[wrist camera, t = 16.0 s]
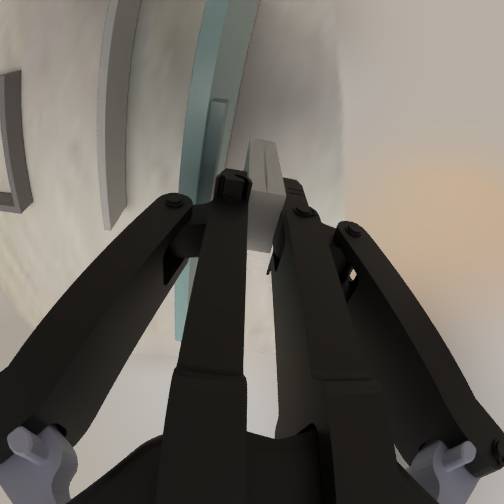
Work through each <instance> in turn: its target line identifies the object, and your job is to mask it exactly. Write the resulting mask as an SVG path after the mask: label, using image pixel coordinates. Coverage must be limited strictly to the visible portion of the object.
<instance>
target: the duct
mask: <svg viewBox="0 0 504 504" xmlns="http://www.w3.org/2000/svg"><path fill="white" fill-rule="evenodd" d="M140 3H141V0H109V5H108V10H107V16H106V22H105V28H104V35H103V42H102V50H101V60H100V71H99V85H98V107H97V147H98V170H99V185H100V197H101V207H102V216H103V224H104V230H109V231H111V230H112V228H113V226H114V225H115V223H116V222H117V220H118V218H119V217H120V215H121V214H122V212H123V210H124V209H125V207H126V206H127V204H126V173H125V145H126V115H127V99H128V86H129V75H130V66H131V58H132V50H133V43H134V36H135V30H136V24H137V19H138V13H139V8H140ZM258 5H259V0H258V4H257V8H256V12H255V16H254V20H253V25H254V21H255V17H256V13H257V9H258ZM253 25H252V29H253ZM252 29H251V33H250V38H251V34H252ZM250 38H249V42H248V46H247V51H248V47H249V43H250ZM247 51H246V55H245V60H244V65H245V61H246V56H247ZM244 65H243V69H242V74H241V79H242V75H243V70H244ZM241 79H240V84H241ZM240 84H239V89H240ZM239 89H238V94H239ZM238 94H237V99H238ZM237 99H236V104H237ZM236 104H235V109H236ZM235 109H234V114H235ZM234 114H233V119H232V125H233V120H234ZM232 125H231V130H232ZM231 130H230V136H231ZM230 136H229V141H230ZM229 141H228V147H229ZM228 147H227V152H228ZM226 158H227V153H226ZM226 158H225V164H226ZM225 164H224V170H225Z"/></svg>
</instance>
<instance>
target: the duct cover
mask: <svg viewBox="0 0 504 504" xmlns="http://www.w3.org/2000/svg"><path fill="white" fill-rule="evenodd" d="M257 4H258V0H207V1H206V5H205V10H204V14H203V19H202V23H201V28H200V33H199V38H198V43H197V49H196V54H195V60H194V66H193V72H192V78H191V84H190V91H189V98H188V105H187V112H186V120H185V129H184V137H183V147H182V157H181V167H180V179H179V192H178V193H179V194H183V195H186V196H188V197H189V198H191V199H192V202H193V205H197V204H205V203H208V202H210V201H212V200H213V195H214V188H215V181H216V177H217V175H218V174H221V172H222V171H223V170H224V164H225V158H226V153H227V147H228V141H229V136H230V130H231V125H232V119H233V114H234V109H235V104H236V99H237V94H238V89H239V84H240V79H241V74H242V69H243V65H244V60H245V55H246V51H247V46H248V42H249V38H250V33H251V29H252V25H253V20H254V16H255V12H256V8H257ZM198 258H199V257H193V258H189V260H188V263H187V265H186V266H185V268H184V269H183V271H182V272H181V274H180V275H179V277H178V279H177V280H176V282H175V340H176V341H182V336H183V331H184V325H185V320H186V315H187V310H188V305H189V300H190V295H191V291H192V286H193V281H194V277H195V272H196V267H197V263H198Z"/></svg>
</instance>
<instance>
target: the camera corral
mask: <svg viewBox="0 0 504 504" xmlns="http://www.w3.org/2000/svg"><path fill="white" fill-rule="evenodd" d="M0 121H1V132H2V141H3V149H4V156H5V162H6V168H7V173H8V179H9V184H10V188H11V193H2V192H0V211H5V212H13V213H20V214H22V212H23V211H24V210H25V209H26V208H27V207H28V206H29V205H30V204H31V203H32V202H33V199H32V194H31V189H30V184H29V178H28V172H27V166H26V159H25V152H24V143H23V133H22V119H21V70H20V71H16V72H12V73H8V74H4V75H1V76H0Z"/></svg>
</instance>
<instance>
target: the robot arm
mask: <svg viewBox="0 0 504 504" xmlns="http://www.w3.org/2000/svg"><path fill="white" fill-rule="evenodd" d="M272 244H273V253H272V257H271V260H270V263H269V267H268V270H267V274H266V275H269V273H270V271H271V276H272V292H273V308H274V325H275V343H276V362H277V380H278V381H277V382H278V403H279V417H278V421H277V425H276V430H275V439H272V438H269V437H265V436H261V435H258V434H254V433H250V432H247V430H246V429H247V428H246V427H247V426H246V425H247V381H246V377H245V376H244V374H243V355H244V322H245V290H246V260H247V250H253V251H260V252H266V253H270V251H271V248H272ZM193 257H199V258H198V263H197V267H196V272H195V277H194V281H193V286H192V291H191V295H190V300H189V305H188V310H187V315H186V320H185V325H184V331H183V336H182V341H181V347H180V352H179V358H178V363H177V366H176V368H175V369H174V372H173V376H172V380H171V386H170V392H169V399H168V404H167V411H166V417H165V425H164V432H163V435H160V436H157V437H155V438H153V439H151V440H148V441H147V442H145V443H144V444H142V445H140V446H139V447H138V448H137V449H135V450H134V451H133V452H132V453H130V454H129V455H128V456H127V457H126V458H124V459H123V460H122V461H121V462H120V463H118V464H117V465H116V466H115V467H113V468H112V469H111V470H110V471H108V472H107V473H106V474H105V475H103V476H102V477H101V478H100V479H98V480H97V481H96V482H94V483H93V484H92V485H90V486H89V487H88V488H87V489H85V490H84V491H83V492H81V493H80V494H78V495H77V496H76V497H74V498H73V499H71V498H70V495H69V485H70V482H71V480H72V478H73V477H74V475H75V473H76V471H77V467H78V461H77V456H76V453H75V451H74V449H73V446H75V445H76V444H77V442H78V441H79V440H80V439H81V438H82V436H83V435H84V434H85V432H86V431H87V430H88V428H89V427H90V425H91V423H92V422H93V420H94V418H95V417H96V415H97V413H98V411H99V409H100V408H101V405H102V404H103V402H104V400H105V398H106V397H107V395H108V393H109V391H110V389H111V388H112V386H113V384H114V382H115V381H116V379H117V377H118V375H119V374H120V372H121V370H122V368H123V366H124V365H125V363H126V361H127V360H128V358H129V356H130V355H131V353H132V351H133V350H134V348H135V346H136V345H137V343H138V341H139V340H140V338H141V336H142V335H143V333H144V331H145V330H146V328H147V326H148V325H149V323H150V321H151V320H152V318H153V317H154V315H155V313H156V312H157V310H158V308H159V307H160V305H161V304H162V302H163V301H164V299H165V297H166V296H167V294H168V293H169V291H170V289H171V288H172V286H173V285H174V283H175V282H176V280H177V279H178V277H179V275H180V274H181V272H182V271H183V269H184V268H185V266H186V265H187V263H188V260H189V258H193ZM353 269H354V270H355V272H356V274H357V275H356V277H355V279H354V280H352V279H351V278H350V276H349V275H350V274H351V272H352V270H353ZM394 444H395V446H396V448H397V449H398V451H399V452H400V454H401V456H402V457H403V459H404V460H405V461H406V462H407V464H408V465H409V467H408V468H406V469H404V468H403V467H402V466H401V465H400V464H399V463H398V462H397V460H396V454H395V448H394ZM502 467H504V433H503V431H502V430H501V429H500V427H499V426H498V425H497V424H496V423H495V421H494V420H493V419H492V418H491V417H490V416H489V414H488V413H487V412H486V411H485V409H484V408H483V407H482V406H481V405H480V403H479V402H478V401H477V400H476V399H475V397H474V395H473V393H472V391H471V389H470V387H469V385H468V383H467V381H466V379H465V377H464V376H463V374H462V372H461V370H460V368H459V367H458V365H457V363H456V361H455V359H454V358H453V356H452V354H451V353H450V351H449V349H448V348H447V346H446V344H445V342H444V341H443V339H442V338H441V336H440V334H439V333H438V331H437V329H436V328H435V326H434V325H433V323H432V322H431V320H430V319H429V317H428V315H427V314H426V312H425V311H424V309H423V308H422V306H421V305H420V303H419V302H418V301H417V299H416V297H415V296H414V295H413V293H412V292H411V290H410V289H409V287H408V286H407V285H406V283H405V282H404V280H403V279H402V278H401V276H400V275H399V273H398V272H397V271H396V269H395V268H394V267H393V265H392V264H391V263H390V261H389V260H388V259H387V257H386V256H385V255H384V253H383V252H382V251H381V249H380V248H379V247H378V246H377V244H376V243H375V242H374V241H373V239H372V238H371V237H370V235H369V234H368V233H367V232H366V231H365V230H364V229H363V228H362V227H360V226H359V225H358V224H356V223H354V222H349V221H341V222H340V223H338V225H337V228H333V227H330V226H328V225H325V224H323V223H321V220H320V217H319V215H318V213H317V212H316V211H315V210H314V209H313V208H311V207H309V206H308V203H307V200H306V197H305V193H304V190H303V187H302V185H301V184H300V183H299V182H298V181H297V180H293V179H288V178H283V177H282V173H281V168H280V163H279V159H278V154H277V150H276V145H275V142H271V141H266V140H260V139H255V138H250V142H249V147H248V152H247V157H246V162H245V168H244V171H240V170H233V169H227V168H226V169H225V170H223V171H222V172H221V174H218V175H217V177H216V181H215V188H214V195H213V200H212V201H210V202H208V203H205V204H197V205H193V202H192V199H191V198H189V197H188V196H186V195H183V194H179V193H168V194H165V195H162V196H160V197H159V198H157V199H156V200H155V201H154V202H153V203H152V204H151V205H150V206H149V207H148V208H146V209H145V210H144V211H143V212H142V213H141V214H140V215H139V216H138V217H137V218H136V219H135V220H134V221H133V222H132V223H131V224H129V225H128V226H127V227H126V228H125V229H124V230H123V231H122V232H121V233H120V234H119V235H118V236H117V237H116V238H115V239H114V240H113V241H112V242H111V243H110V244H109V245H108V246H107V247H106V248H105V249H104V250H103V251H102V253H101V254H100V255H99V256H98V257H97V258H96V259H95V260H94V261H93V262H92V263H91V264H90V265H89V266H88V267H87V268H86V270H85V271H84V272H83V273H82V274H81V275H80V276H79V277H78V278H77V279H76V281H75V282H74V283H73V284H72V285H71V286H70V287H69V289H68V290H67V291H66V292H65V293H64V294H63V295H62V297H61V298H60V299H59V300H58V301H57V303H56V304H55V305H54V306H53V307H52V309H51V310H50V311H49V312H48V314H47V315H46V316H45V317H44V318H43V320H42V321H41V322H40V324H39V325H38V326H37V327H36V329H35V330H34V331H33V333H32V334H31V335H30V337H29V338H28V339H27V341H26V342H25V343H24V345H23V346H22V347H21V349H20V351H19V352H18V353H17V354H16V356H15V357H14V359H13V360H12V361H11V363H10V364H9V366H8V367H7V368H5V369H4V370H3V371H1V372H0V485H1V487H2V488H3V490H4V491H5V493H6V494H7V496H8V497H9V499H10V500H11V501H12V503H13V504H465V503H466V501H467V500H468V498H469V496H470V495H471V493H472V491H473V490H474V488H475V486H476V484H477V482H478V481H479V479H480V478H481V477H483V476H486V475H488V474H490V473H493V472H495V471H497V470H499V469H501V468H502Z"/></svg>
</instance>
